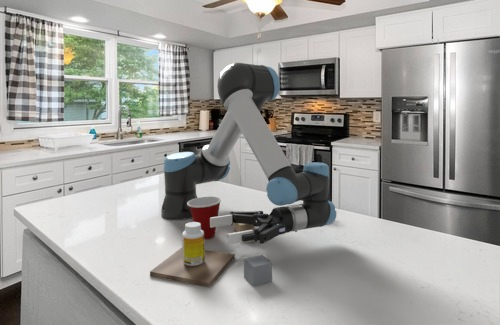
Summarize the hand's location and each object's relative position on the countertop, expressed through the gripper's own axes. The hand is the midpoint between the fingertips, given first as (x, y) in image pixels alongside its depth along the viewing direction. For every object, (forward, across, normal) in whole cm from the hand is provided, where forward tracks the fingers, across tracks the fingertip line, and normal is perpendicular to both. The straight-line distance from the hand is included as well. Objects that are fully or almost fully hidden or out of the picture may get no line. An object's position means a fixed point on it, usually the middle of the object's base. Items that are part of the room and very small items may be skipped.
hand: (218, 230), depth 89 cm
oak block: (-14, +14, -9) cm, 21 cm away
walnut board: (+7, 0, -9) cm, 11 cm away
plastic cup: (-2, +19, -9) cm, 21 cm away
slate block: (-5, -13, -9) cm, 16 cm away
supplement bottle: (+7, 0, -8) cm, 10 cm away
